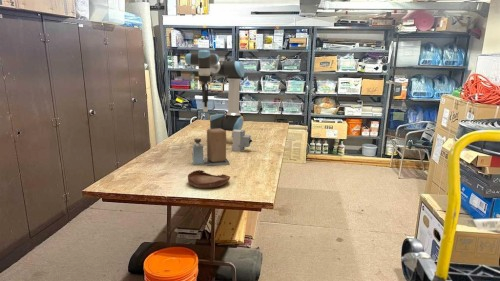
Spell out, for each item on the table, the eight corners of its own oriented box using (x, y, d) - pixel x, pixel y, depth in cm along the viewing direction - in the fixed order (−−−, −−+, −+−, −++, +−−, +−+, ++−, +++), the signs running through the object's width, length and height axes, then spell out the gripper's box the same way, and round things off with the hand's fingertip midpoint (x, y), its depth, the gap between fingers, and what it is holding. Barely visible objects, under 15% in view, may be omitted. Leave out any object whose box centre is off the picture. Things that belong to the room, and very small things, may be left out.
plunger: (194, 153, 217) (194, 138, 215) (200, 152, 218) (200, 138, 216) (195, 154, 213) (194, 140, 211) (201, 154, 214) (201, 139, 212)
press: (192, 160, 223) (191, 143, 220) (224, 158, 229) (224, 141, 226) (194, 166, 210) (194, 148, 207) (229, 164, 215) (229, 146, 213)
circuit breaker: (250, 152, 246) (250, 132, 243) (231, 151, 249) (231, 131, 246) (252, 150, 253) (252, 130, 250) (234, 148, 256) (234, 129, 253)
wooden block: (212, 162, 213) (211, 131, 209) (206, 158, 222) (206, 128, 218) (226, 161, 218) (226, 130, 213) (220, 157, 226) (220, 127, 222)
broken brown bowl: (231, 178, 191) (231, 169, 190) (228, 191, 172) (228, 181, 170) (192, 176, 192) (191, 168, 191) (184, 189, 172) (183, 180, 171)
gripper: (197, 74, 221) (198, 110, 227) (200, 75, 209) (201, 113, 215) (208, 74, 223) (209, 109, 229) (212, 75, 211) (212, 113, 217)
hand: (205, 111), depth 222 cm, fingers closed
